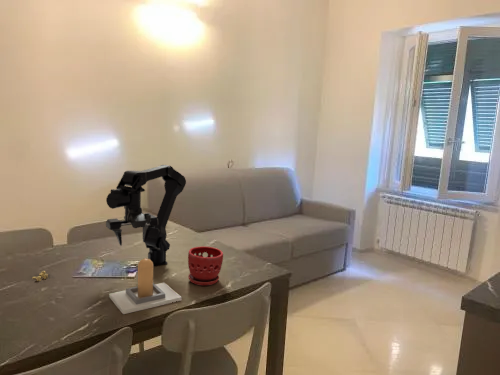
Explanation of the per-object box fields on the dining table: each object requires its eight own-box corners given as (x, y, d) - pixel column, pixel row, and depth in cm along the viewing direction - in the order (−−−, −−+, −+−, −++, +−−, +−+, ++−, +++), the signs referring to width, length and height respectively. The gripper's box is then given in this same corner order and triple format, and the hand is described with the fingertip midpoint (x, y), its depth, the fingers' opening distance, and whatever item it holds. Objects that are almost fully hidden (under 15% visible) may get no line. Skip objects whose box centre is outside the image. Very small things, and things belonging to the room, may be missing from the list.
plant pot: (194, 290, 148) (195, 258, 146) (182, 277, 159) (183, 247, 157) (227, 285, 154) (228, 254, 152) (213, 272, 165) (215, 244, 163)
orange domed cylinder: (144, 291, 142) (144, 255, 140) (155, 294, 140) (156, 258, 138) (134, 296, 138) (134, 259, 135) (146, 299, 136) (147, 262, 133)
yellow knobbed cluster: (44, 275, 155) (44, 270, 154) (51, 279, 152) (51, 274, 151) (30, 279, 151) (30, 274, 150) (37, 283, 148) (37, 278, 147)
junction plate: (164, 285, 150) (164, 278, 150) (181, 300, 139) (181, 292, 139) (109, 297, 139) (109, 289, 138) (123, 314, 128) (123, 306, 127)
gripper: (114, 211, 143) (114, 253, 146) (164, 206, 154) (163, 246, 157) (105, 204, 152) (105, 244, 155) (152, 200, 163) (152, 238, 166)
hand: (132, 243), depth 158 cm, fingers open, 9 cm apart
